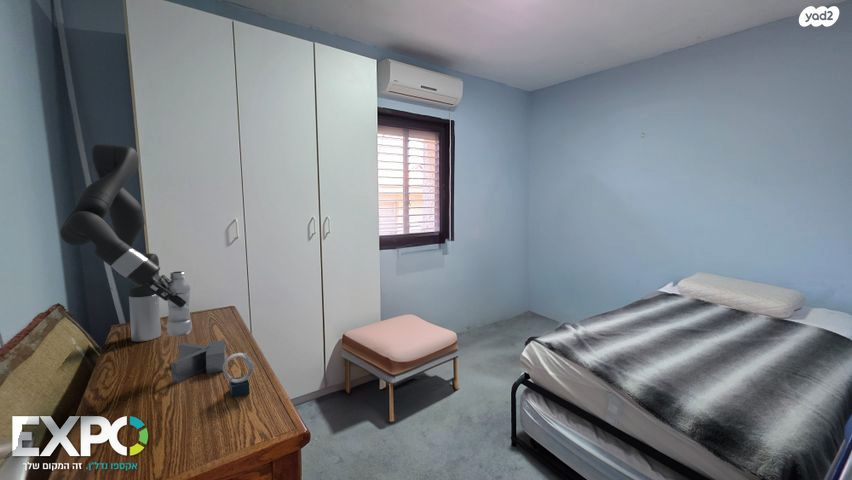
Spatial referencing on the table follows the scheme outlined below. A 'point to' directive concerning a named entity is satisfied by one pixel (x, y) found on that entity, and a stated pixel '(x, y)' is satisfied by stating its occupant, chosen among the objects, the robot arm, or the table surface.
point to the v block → (198, 359)
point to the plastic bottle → (179, 316)
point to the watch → (239, 384)
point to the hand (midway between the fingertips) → (185, 302)
